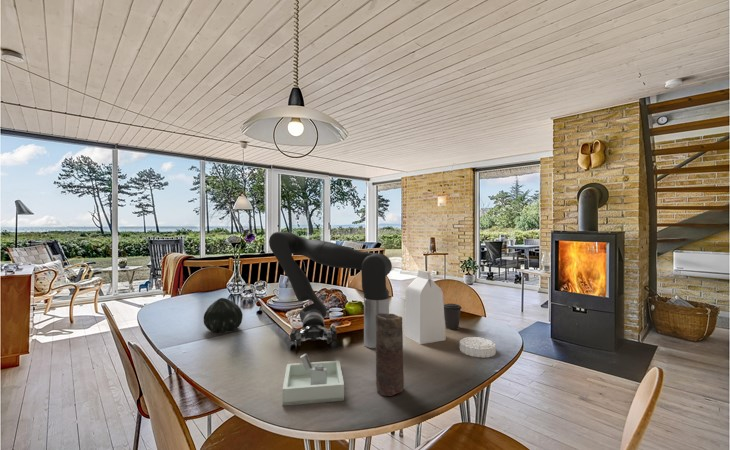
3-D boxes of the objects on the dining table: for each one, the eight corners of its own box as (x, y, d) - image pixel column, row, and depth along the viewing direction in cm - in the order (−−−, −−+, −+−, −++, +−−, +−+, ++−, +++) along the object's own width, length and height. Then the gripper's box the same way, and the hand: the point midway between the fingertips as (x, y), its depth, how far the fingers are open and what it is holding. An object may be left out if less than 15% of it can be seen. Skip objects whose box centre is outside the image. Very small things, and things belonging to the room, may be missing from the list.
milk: (403, 334, 134) (403, 270, 134) (427, 331, 138) (427, 268, 138) (419, 344, 123) (419, 273, 123) (445, 340, 127) (445, 272, 127)
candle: (374, 383, 92) (374, 311, 92) (400, 382, 92) (400, 310, 93) (377, 397, 84) (377, 318, 84) (406, 396, 85) (406, 318, 85)
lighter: (327, 384, 90) (327, 354, 90) (325, 387, 88) (325, 357, 88) (302, 382, 91) (302, 352, 91) (299, 385, 89) (299, 355, 89)
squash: (234, 310, 151) (214, 289, 143) (254, 316, 142) (234, 294, 134) (211, 337, 143) (188, 316, 134) (231, 346, 134) (208, 324, 126)
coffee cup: (464, 330, 139) (464, 306, 139) (444, 330, 139) (444, 306, 139) (458, 324, 147) (458, 302, 147) (440, 324, 147) (440, 302, 147)
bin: (339, 374, 98) (339, 360, 98) (344, 400, 83) (344, 384, 83) (287, 377, 95) (287, 363, 95) (282, 405, 81) (282, 389, 81)
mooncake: (466, 343, 124) (466, 333, 125) (500, 350, 117) (500, 340, 117) (454, 352, 115) (454, 342, 115) (489, 361, 108) (489, 350, 108)
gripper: (292, 315, 113) (289, 330, 97) (334, 313, 116) (338, 327, 100) (292, 337, 113) (289, 355, 97) (334, 335, 116) (338, 352, 100)
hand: (314, 341), depth 98 cm, fingers open, 8 cm apart
